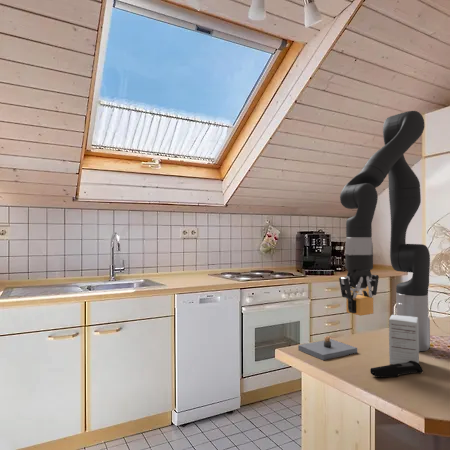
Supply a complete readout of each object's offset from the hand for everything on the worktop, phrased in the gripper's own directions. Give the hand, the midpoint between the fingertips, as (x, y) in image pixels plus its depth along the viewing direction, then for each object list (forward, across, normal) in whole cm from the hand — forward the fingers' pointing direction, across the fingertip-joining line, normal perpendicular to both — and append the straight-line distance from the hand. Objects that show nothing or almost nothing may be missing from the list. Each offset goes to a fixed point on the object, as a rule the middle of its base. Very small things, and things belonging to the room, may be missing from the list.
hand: (359, 311), depth 110 cm
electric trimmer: (+15, 0, +12) cm, 19 cm away
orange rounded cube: (0, 0, 0) cm, 0 cm away
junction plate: (+14, +2, -11) cm, 18 cm away
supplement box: (+14, -10, +7) cm, 19 cm away
